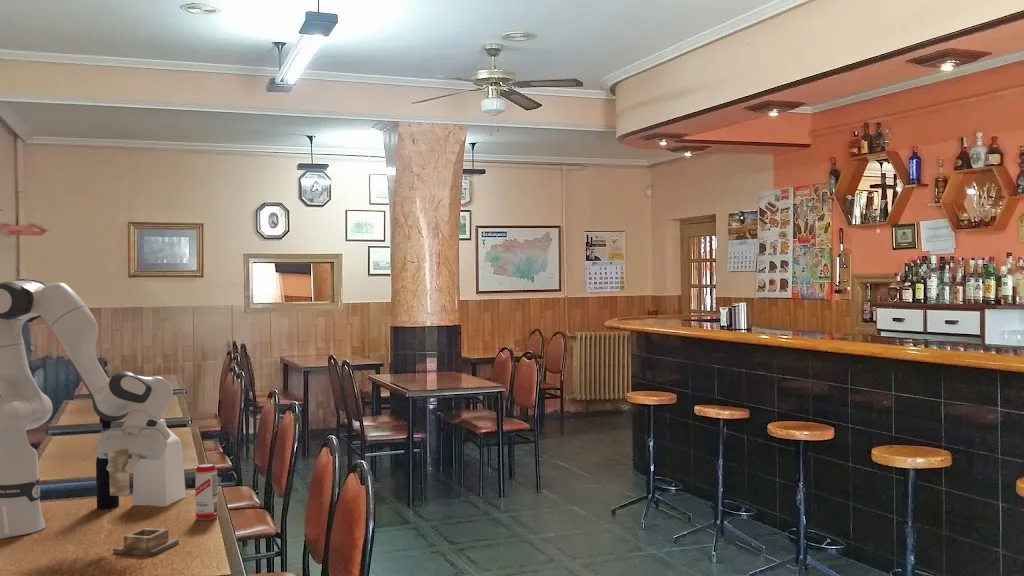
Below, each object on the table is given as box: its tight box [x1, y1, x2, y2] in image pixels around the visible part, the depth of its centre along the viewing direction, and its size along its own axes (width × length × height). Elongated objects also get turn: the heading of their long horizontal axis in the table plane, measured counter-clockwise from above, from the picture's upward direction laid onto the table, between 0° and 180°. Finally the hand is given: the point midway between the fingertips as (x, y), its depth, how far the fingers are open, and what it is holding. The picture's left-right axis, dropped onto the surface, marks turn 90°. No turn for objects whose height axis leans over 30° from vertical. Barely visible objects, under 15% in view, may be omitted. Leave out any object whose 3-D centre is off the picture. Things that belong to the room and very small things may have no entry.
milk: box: [132, 418, 187, 507], centre depth 292 cm, size 12×12×26 cm
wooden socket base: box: [112, 527, 180, 557], centre depth 241 cm, size 12×11×4 cm
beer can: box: [194, 462, 219, 521], centre depth 271 cm, size 6×6×16 cm
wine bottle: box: [95, 417, 120, 510], centre depth 285 cm, size 6×6×30 cm
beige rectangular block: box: [109, 449, 130, 497], centre depth 247 cm, size 4×4×12 cm
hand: (117, 470), depth 246 cm, fingers closed on beige rectangular block, 3 cm apart
